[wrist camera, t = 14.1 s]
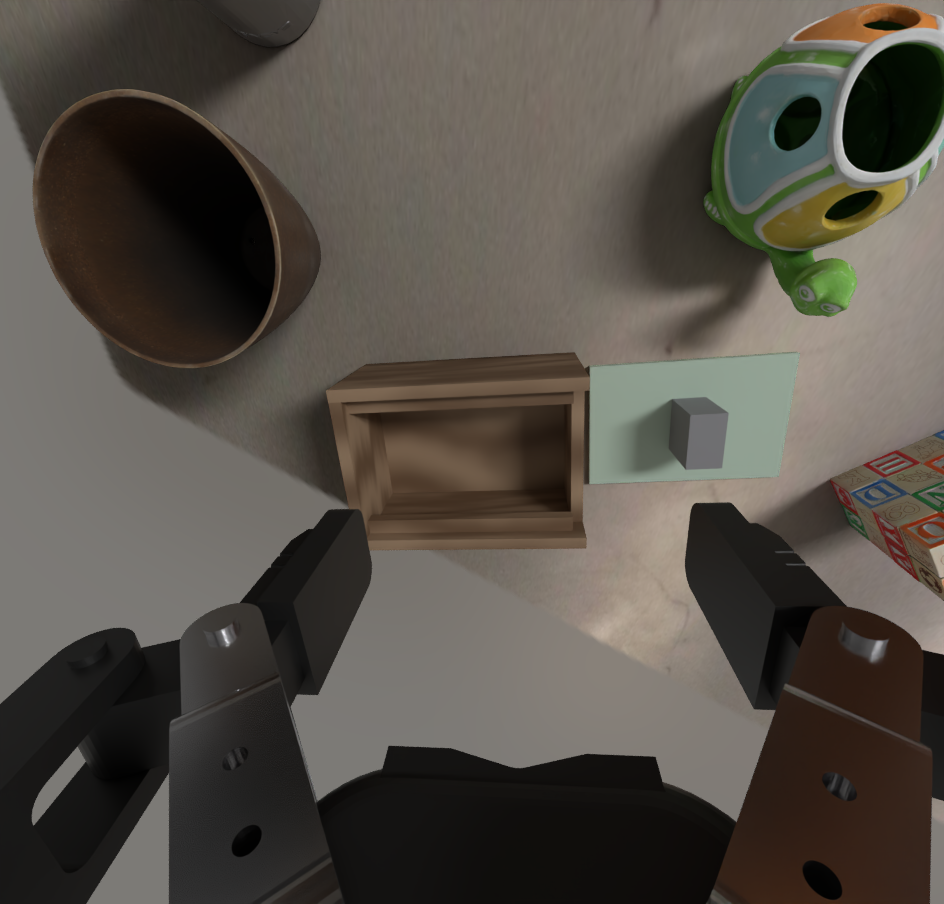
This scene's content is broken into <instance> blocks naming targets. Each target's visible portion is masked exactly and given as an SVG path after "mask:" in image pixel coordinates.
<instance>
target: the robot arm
mask: <svg viewBox="0 0 944 904" xmlns="http://www.w3.org/2000/svg"><path fill="white" fill-rule="evenodd" d="M197 1H198V2H199V3H201V4H202V5H203V6H204V7H205V8H207V9H208V10H209V11H210V12H212V13H213V14H214V15H215V16H217V17H218V18H219V19H220V20H222V21H223V22H224V23H225V24H226V25H228V26H229V27H230V28H231V29H233V30H234V31H235V32H236V33H237V34H239V35H240V36H241V37H243V38H244V39H246V40H248V41H250V42H252V43H254V44H257V45H261V46H265V47H278V46H281V45H285V44H288V43H290V42H292V41H293V40H295V39H296V38H298V37H299V36H300V35H301V34H302V33H303V32H304V31H305V30H306V29H307V28H308V27H309V25H310V23H311V22H312V20H313V18H314V17H315V15H316V12H317V9H318V6H319V3H320V0H197ZM685 570H686V577H687V581H688V584H689V587H690V589H691V591H692V593H693V594H694V596H695V598H696V600H697V602H698V604H699V606H700V608H701V610H702V611H703V613H704V615H705V617H706V619H707V621H708V623H709V625H710V627H711V629H712V630H713V632H714V634H715V636H716V638H717V640H718V642H719V644H720V646H721V648H722V649H723V651H724V653H725V655H726V657H727V659H728V661H729V663H730V665H731V667H732V668H733V670H734V672H735V674H736V676H737V678H738V680H739V682H740V684H741V685H742V687H743V689H744V691H745V693H746V695H747V697H748V699H749V701H750V703H751V704H752V706H753V708H754V709H762V710H775V713H774V716H773V719H772V722H771V724H770V727H769V730H768V733H767V736H766V739H765V742H764V745H763V748H762V751H761V753H760V756H759V759H758V762H757V765H756V768H755V771H754V773H753V776H752V779H751V782H750V785H749V788H748V791H747V794H746V796H745V799H744V802H743V805H742V808H741V811H740V814H739V817H738V819H737V822H736V821H734V820H733V819H732V818H731V817H729V816H728V815H727V814H725V813H724V812H722V811H721V810H719V809H718V808H716V807H715V806H713V805H712V804H710V803H708V802H707V801H705V800H703V799H701V798H699V797H698V796H696V795H694V794H692V793H690V792H688V791H685V790H683V789H680V788H678V787H675V786H673V785H670V784H667V783H664V782H662V779H661V775H660V771H659V768H658V764H657V761H656V757H648V756H624V755H598V754H584V755H580V756H575V757H571V758H566V759H562V760H557V761H553V762H549V763H544V764H540V765H535V766H530V767H526V768H512V767H508V766H505V765H502V764H499V763H496V762H492V761H489V760H486V759H483V758H480V757H477V756H474V755H470V754H467V753H464V752H461V751H458V750H454V749H451V748H429V747H427V748H426V747H404V746H389V747H388V750H387V754H386V758H385V762H384V765H383V769H381V770H377V771H373V772H370V773H368V774H365V775H362V776H359V777H357V778H355V779H353V780H351V781H349V782H347V783H345V784H343V785H341V786H340V787H338V788H337V789H335V790H333V791H331V792H330V793H328V794H327V795H326V796H325V797H323V798H322V799H321V800H319V801H318V800H317V797H316V793H315V790H314V787H313V783H312V779H311V776H310V773H309V769H308V766H307V762H306V759H305V755H304V752H303V749H302V745H301V741H300V738H299V735H298V731H297V728H296V724H295V721H294V718H293V714H292V711H291V705H292V703H293V701H294V699H295V697H296V695H297V694H303V695H318V694H319V692H320V689H321V687H322V685H323V683H324V681H325V679H326V677H327V674H328V672H329V670H330V668H331V666H332V664H333V662H334V659H335V657H336V655H337V653H338V651H339V649H340V647H341V645H342V643H343V640H344V638H345V636H346V634H347V632H348V629H349V627H350V625H351V623H352V621H353V619H354V617H355V615H356V613H357V610H358V608H359V606H360V604H361V602H362V600H363V597H364V595H365V593H366V591H367V589H368V587H369V584H370V580H371V573H372V562H371V556H370V551H369V545H368V540H367V535H366V529H365V524H364V518H363V515H362V512H361V511H360V510H359V509H335V510H328V511H327V512H326V513H325V515H324V516H323V517H322V519H321V520H320V521H319V523H318V524H317V525H316V526H315V528H314V529H308V530H306V531H305V532H303V533H302V534H300V535H299V536H297V537H296V538H294V539H293V540H291V541H290V543H289V544H288V545H287V546H286V547H285V549H284V550H283V551H282V552H281V553H280V556H279V557H277V558H276V559H275V561H274V562H273V563H272V564H271V568H268V569H267V570H266V572H265V573H264V574H263V575H262V577H261V578H260V579H259V580H258V581H257V583H256V584H255V585H254V586H253V587H252V589H251V590H250V591H249V592H248V593H247V595H246V596H245V597H244V598H243V599H242V601H241V602H240V603H236V604H230V605H226V606H223V607H220V608H217V609H215V610H212V611H210V612H208V613H206V614H205V615H203V616H202V617H200V618H199V619H197V620H196V621H195V622H194V623H192V624H191V625H190V626H189V627H188V628H187V629H186V631H185V632H184V634H183V635H182V637H181V639H179V640H175V641H171V642H166V643H162V644H157V645H152V646H148V647H143V648H141V647H140V644H139V642H138V640H137V638H136V636H135V633H134V632H133V631H132V630H130V629H126V628H112V629H107V630H103V631H99V632H96V633H93V634H90V635H88V636H86V637H84V638H82V639H80V640H77V641H75V642H74V643H72V644H70V645H69V646H67V647H65V648H64V649H62V650H61V651H60V652H58V653H57V654H56V655H55V656H53V657H52V658H51V659H50V660H49V661H48V662H47V663H45V664H44V665H43V666H42V667H41V668H40V669H39V670H38V671H37V672H35V673H34V674H33V675H32V676H31V677H30V678H29V679H28V680H26V681H25V682H24V683H23V684H22V685H21V686H20V687H19V688H18V689H17V690H15V691H14V692H13V693H12V694H11V695H10V696H9V697H8V698H7V699H5V700H4V701H3V702H2V703H1V704H0V904H86V903H87V902H88V900H89V898H90V897H91V895H92V893H93V892H94V891H95V889H96V887H97V886H98V884H99V883H100V881H101V879H102V878H103V876H104V875H105V873H106V872H107V870H108V868H109V866H110V865H111V864H112V862H113V860H114V859H115V857H116V856H117V854H118V853H119V851H120V849H121V848H122V846H123V845H124V843H125V841H126V840H127V838H128V837H129V835H130V834H131V832H132V830H133V829H134V827H135V825H136V824H137V822H138V821H139V819H140V818H141V816H142V814H143V813H144V811H145V810H146V808H147V806H148V805H149V804H150V802H151V800H152V799H153V797H154V796H155V794H156V792H157V791H158V789H159V788H160V786H161V784H162V783H163V781H164V780H165V778H166V776H167V775H168V773H169V904H930V873H931V871H930V870H931V819H932V797H933V798H936V799H939V800H943V801H944V655H943V654H938V653H933V652H929V651H925V650H922V649H921V647H920V645H919V644H918V642H917V641H916V640H915V639H914V638H913V637H912V636H911V635H910V634H909V633H908V632H907V631H905V630H904V629H903V628H901V627H900V626H898V625H897V624H895V623H893V622H891V621H889V620H888V619H886V618H883V617H881V616H879V615H876V614H874V613H871V612H868V611H865V610H861V609H858V608H853V607H847V606H846V605H845V604H844V603H843V602H842V601H841V600H840V599H839V598H838V596H837V595H836V594H835V593H834V592H833V591H832V590H831V589H830V588H829V587H828V586H827V585H826V584H825V583H824V582H823V581H822V580H821V579H820V578H819V577H818V576H817V575H816V573H815V572H814V571H813V570H812V569H811V568H810V567H809V566H806V565H805V562H804V561H803V560H802V559H801V558H800V557H799V556H798V555H797V554H794V550H793V549H792V548H791V547H790V546H789V545H788V544H787V543H786V542H785V541H784V540H783V539H782V538H781V537H780V536H779V535H777V534H775V533H774V532H772V531H770V530H768V529H767V528H765V527H763V526H761V525H760V524H758V523H749V522H748V521H747V520H746V519H745V518H744V516H743V515H742V514H741V513H740V512H739V511H738V510H737V509H736V507H735V506H734V505H733V504H732V503H729V502H727V503H695V504H694V505H693V506H692V509H691V514H690V522H689V531H688V540H687V548H686V557H685ZM77 746H78V748H79V750H80V752H81V753H82V755H83V757H84V759H85V760H86V762H85V764H84V765H83V766H82V767H81V769H80V770H79V771H78V772H77V773H76V775H75V776H74V777H73V778H72V780H71V781H70V782H69V783H68V785H67V786H66V787H65V788H64V790H63V791H62V792H61V793H60V794H59V796H58V797H57V798H56V799H55V800H54V802H53V803H52V804H51V806H50V807H49V808H48V809H47V810H46V812H45V813H44V814H43V815H42V817H41V818H40V819H39V820H38V821H37V823H36V824H35V825H34V826H33V824H32V809H33V806H34V803H35V800H36V798H37V796H38V794H39V792H40V791H41V789H42V788H43V786H44V785H45V784H46V782H47V781H48V780H49V779H50V778H51V777H52V775H53V774H54V773H55V772H56V771H57V770H58V768H59V767H60V766H61V765H62V764H63V762H64V761H65V760H66V759H67V758H68V757H69V756H70V754H71V753H72V752H73V751H74V750H75V749H76V747H77Z"/></svg>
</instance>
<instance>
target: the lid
mask: <svg viewBox="0 0 944 904" xmlns="http://www.w3.org/2000/svg"><path fill="white" fill-rule="evenodd" d="M799 356H800V353H799V352H785V353H770V354H755V355H741V356H726V357H711V358H696V359H681V360H667V361H652V362H637V363H622V364H608V365H593V366H589V377H590V391H589V484H605V483H631V482H657V481H684V480H710V479H736V478H762V477H779V472H780V466H781V460H782V454H783V448H784V443H785V437H786V431H787V425H788V419H789V414H790V408H791V402H792V396H793V390H794V385H795V379H796V373H797V367H798V361H799Z"/></svg>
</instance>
